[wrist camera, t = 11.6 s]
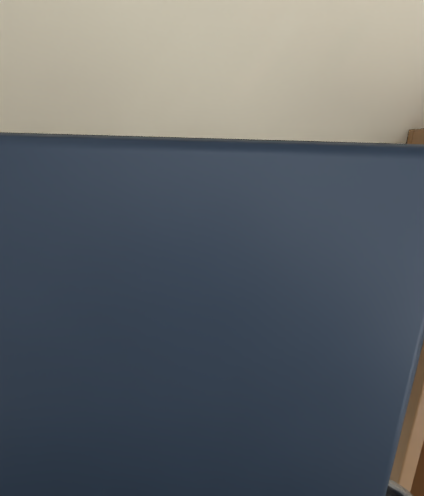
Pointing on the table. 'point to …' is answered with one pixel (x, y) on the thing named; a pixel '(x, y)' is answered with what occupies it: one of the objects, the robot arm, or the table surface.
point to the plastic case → (206, 314)
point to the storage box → (412, 415)
